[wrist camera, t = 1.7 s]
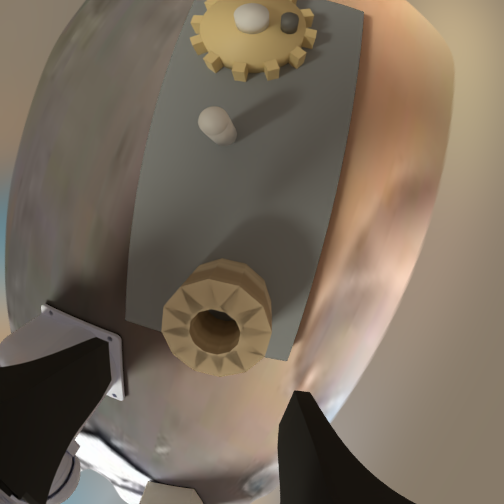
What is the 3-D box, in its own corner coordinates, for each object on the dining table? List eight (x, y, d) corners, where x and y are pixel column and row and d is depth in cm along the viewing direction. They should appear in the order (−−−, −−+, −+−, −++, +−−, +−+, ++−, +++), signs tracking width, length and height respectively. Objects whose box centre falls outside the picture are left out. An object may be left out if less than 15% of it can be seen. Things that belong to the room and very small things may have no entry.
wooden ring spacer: (179, 328, 18) (159, 360, 14) (189, 250, 17) (167, 268, 13) (258, 347, 18) (256, 384, 14) (279, 271, 17) (282, 295, 13)
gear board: (133, 312, 20) (93, 351, 14) (205, -5, 14) (187, -51, 8) (286, 349, 20) (291, 405, 14) (358, 21, 14) (383, -23, 8)
